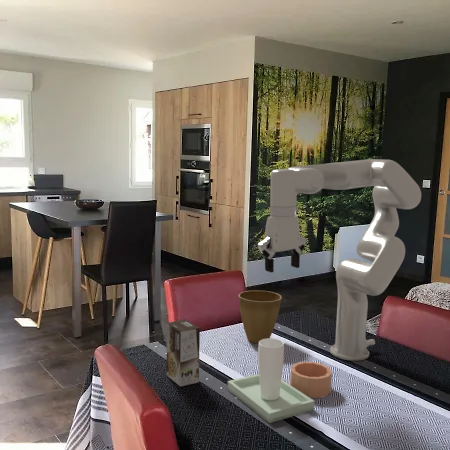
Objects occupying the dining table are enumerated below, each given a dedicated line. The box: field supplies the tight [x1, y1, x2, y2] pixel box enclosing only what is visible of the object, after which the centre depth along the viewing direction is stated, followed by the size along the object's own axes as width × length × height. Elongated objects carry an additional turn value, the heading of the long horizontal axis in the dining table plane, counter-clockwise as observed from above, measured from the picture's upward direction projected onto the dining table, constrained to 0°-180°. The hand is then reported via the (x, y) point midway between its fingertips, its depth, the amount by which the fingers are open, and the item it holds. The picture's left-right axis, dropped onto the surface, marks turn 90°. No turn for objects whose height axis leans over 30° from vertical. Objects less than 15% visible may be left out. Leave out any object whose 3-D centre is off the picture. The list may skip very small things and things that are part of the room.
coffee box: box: [166, 319, 201, 387], centre depth 147 cm, size 9×6×16 cm
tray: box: [227, 373, 315, 424], centre depth 137 cm, size 14×20×2 cm
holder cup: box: [289, 361, 333, 399], centre depth 144 cm, size 11×11×6 cm
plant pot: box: [238, 290, 283, 344], centre depth 179 cm, size 15×15×16 cm
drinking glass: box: [257, 337, 285, 401], centre depth 136 cm, size 7×7×15 cm
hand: (282, 269), depth 152 cm, fingers open, 9 cm apart
